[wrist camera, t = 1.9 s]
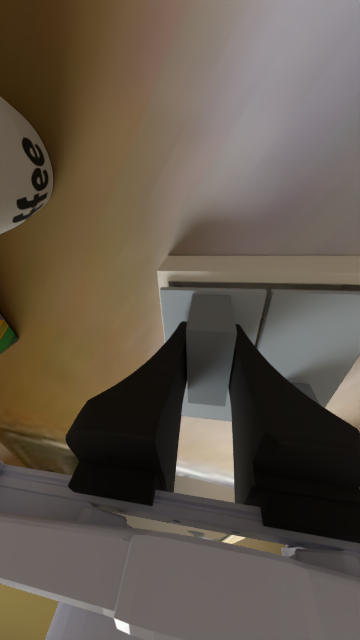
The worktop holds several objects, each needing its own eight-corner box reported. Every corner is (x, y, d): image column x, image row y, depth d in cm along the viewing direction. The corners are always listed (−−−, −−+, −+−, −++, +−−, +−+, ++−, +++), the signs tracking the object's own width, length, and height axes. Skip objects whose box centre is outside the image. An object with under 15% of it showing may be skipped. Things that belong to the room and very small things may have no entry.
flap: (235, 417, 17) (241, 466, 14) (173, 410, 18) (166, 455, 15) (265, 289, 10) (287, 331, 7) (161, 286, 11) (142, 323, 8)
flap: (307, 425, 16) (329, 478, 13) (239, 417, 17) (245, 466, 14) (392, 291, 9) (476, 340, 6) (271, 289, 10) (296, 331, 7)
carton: (294, 396, 19) (306, 426, 17) (176, 385, 21) (172, 411, 19) (362, 255, 12) (402, 273, 9) (167, 255, 13) (157, 270, 11)
